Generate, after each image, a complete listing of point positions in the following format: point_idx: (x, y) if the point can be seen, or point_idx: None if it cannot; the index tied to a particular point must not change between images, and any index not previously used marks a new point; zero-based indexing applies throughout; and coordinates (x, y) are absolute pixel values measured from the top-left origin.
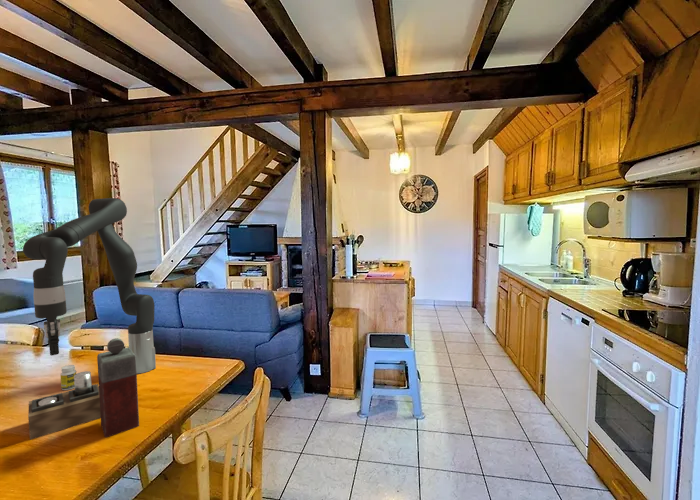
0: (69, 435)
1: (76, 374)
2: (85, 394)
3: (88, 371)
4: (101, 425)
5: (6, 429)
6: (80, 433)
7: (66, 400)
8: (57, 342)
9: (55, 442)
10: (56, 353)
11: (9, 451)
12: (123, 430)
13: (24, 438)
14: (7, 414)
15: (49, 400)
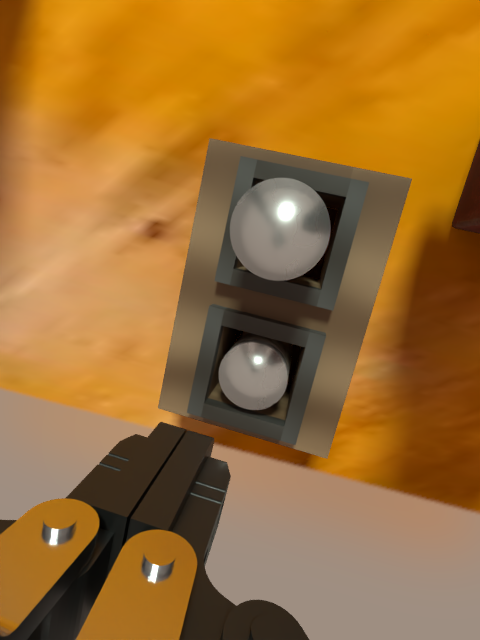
0: (420, 330)
1: (250, 259)
2: (338, 240)
3: (262, 184)
4: (469, 230)
5: None
6: (444, 301)
7: (290, 311)
8: (188, 563)
9: (427, 375)
10: (209, 460)
11: (348, 470)
12: None
13: None
14: (60, 399)
15: (260, 372)
